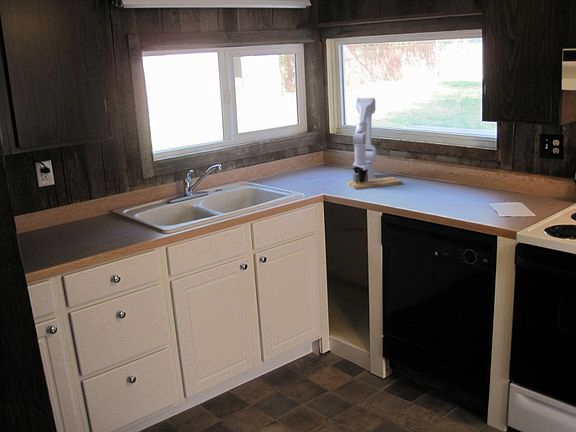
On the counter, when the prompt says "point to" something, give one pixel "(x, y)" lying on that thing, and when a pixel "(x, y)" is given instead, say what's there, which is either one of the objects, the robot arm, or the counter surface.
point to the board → (376, 183)
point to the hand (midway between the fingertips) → (360, 181)
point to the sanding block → (357, 180)
